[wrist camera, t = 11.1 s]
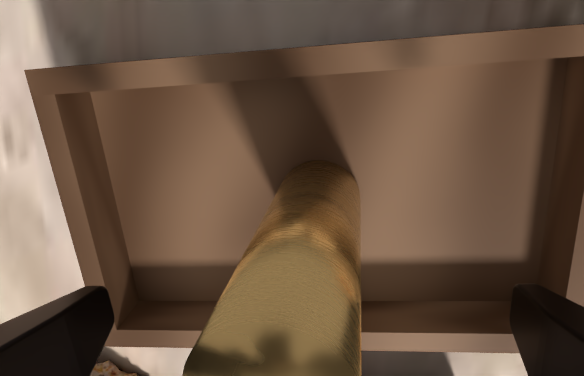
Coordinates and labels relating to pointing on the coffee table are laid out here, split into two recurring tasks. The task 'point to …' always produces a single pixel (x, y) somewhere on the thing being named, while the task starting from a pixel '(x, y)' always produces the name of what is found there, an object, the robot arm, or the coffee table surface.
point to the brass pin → (293, 286)
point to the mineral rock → (108, 370)
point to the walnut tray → (340, 150)
